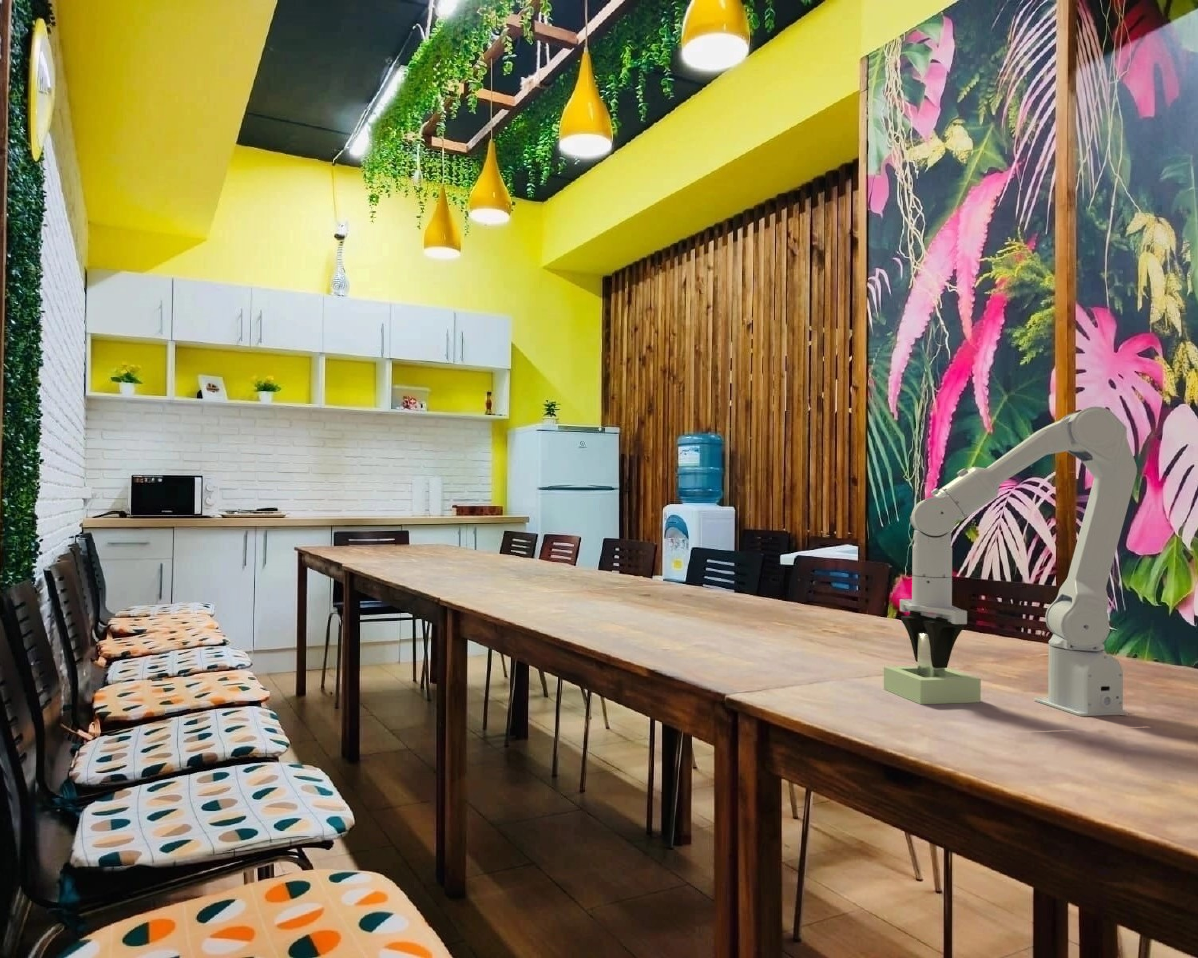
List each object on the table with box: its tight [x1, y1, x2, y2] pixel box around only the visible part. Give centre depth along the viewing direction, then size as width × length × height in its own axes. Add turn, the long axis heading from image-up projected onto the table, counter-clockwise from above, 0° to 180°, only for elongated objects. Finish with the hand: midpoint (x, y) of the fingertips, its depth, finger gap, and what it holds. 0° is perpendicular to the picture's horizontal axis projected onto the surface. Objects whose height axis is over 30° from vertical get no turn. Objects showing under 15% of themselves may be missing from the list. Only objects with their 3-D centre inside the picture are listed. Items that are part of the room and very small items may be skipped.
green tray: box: [883, 665, 982, 705], centre depth 130 cm, size 10×10×4 cm
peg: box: [917, 632, 945, 678], centre depth 130 cm, size 4×4×8 cm
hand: (931, 664), depth 130 cm, fingers closed on peg, 4 cm apart
